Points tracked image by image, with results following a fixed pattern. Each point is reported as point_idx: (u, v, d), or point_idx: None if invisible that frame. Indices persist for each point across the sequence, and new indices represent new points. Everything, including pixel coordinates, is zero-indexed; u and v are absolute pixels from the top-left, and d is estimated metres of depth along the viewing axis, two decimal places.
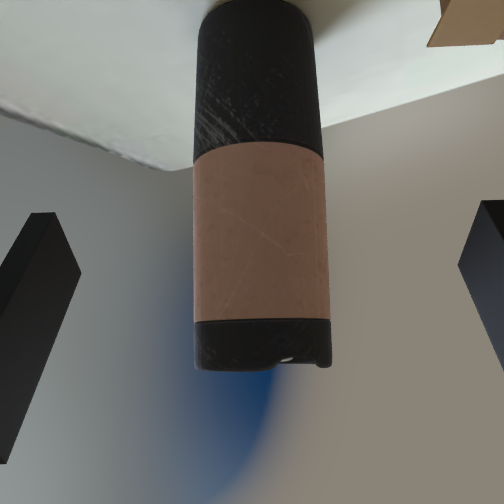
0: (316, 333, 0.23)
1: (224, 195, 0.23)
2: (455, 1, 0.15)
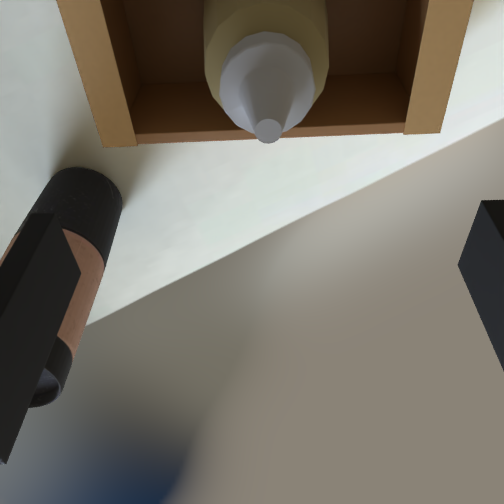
0: None
1: None
2: (95, 116, 0.30)
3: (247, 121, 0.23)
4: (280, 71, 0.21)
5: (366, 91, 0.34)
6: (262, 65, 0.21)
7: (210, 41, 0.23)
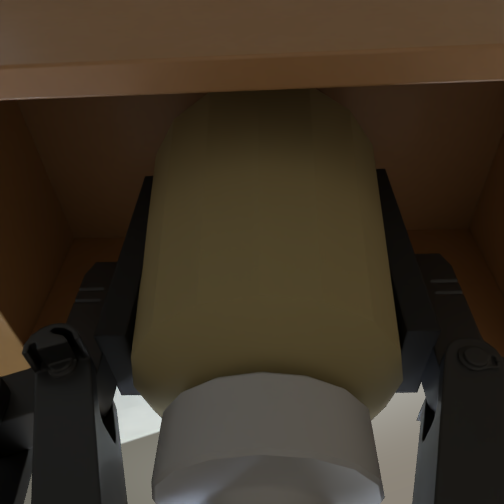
0: None
1: None
2: None
3: None
4: (301, 496, 0.08)
5: None
6: (254, 486, 0.08)
7: (139, 344, 0.10)
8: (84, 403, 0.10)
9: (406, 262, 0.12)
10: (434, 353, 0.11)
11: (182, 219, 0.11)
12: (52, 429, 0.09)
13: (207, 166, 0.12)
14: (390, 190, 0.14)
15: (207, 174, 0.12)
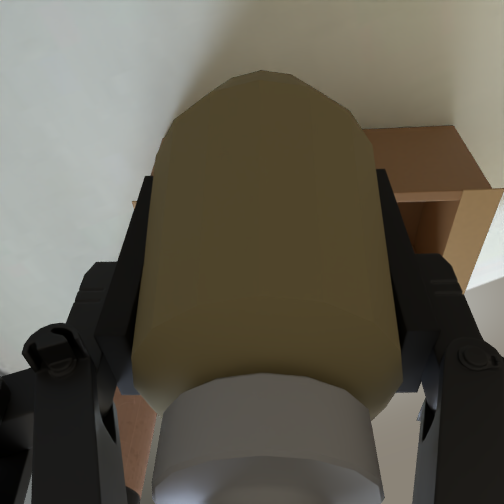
0: None
1: None
2: None
3: None
4: (301, 497, 0.08)
5: None
6: (255, 487, 0.08)
7: (139, 345, 0.10)
8: (84, 403, 0.10)
9: (406, 262, 0.12)
10: (434, 353, 0.11)
11: (182, 220, 0.11)
12: (52, 429, 0.09)
13: (207, 167, 0.12)
14: (390, 190, 0.14)
15: (207, 175, 0.12)
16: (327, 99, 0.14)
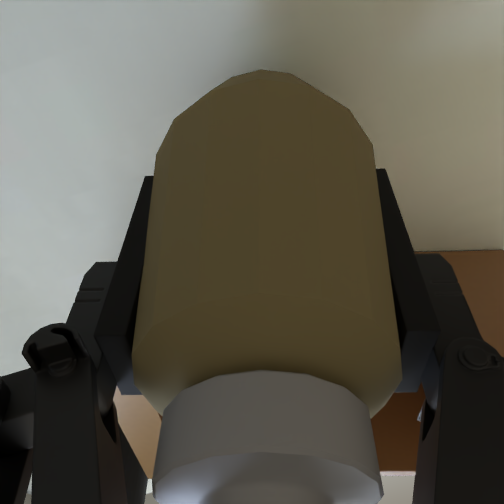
0: None
1: None
2: (142, 464, 0.29)
3: None
4: (301, 493, 0.08)
5: (416, 401, 0.33)
6: (255, 483, 0.08)
7: (139, 343, 0.10)
8: (84, 403, 0.10)
9: (406, 262, 0.12)
10: (434, 353, 0.11)
11: (182, 218, 0.11)
12: (52, 429, 0.09)
13: (207, 166, 0.12)
14: (390, 190, 0.14)
15: (207, 174, 0.12)
16: (327, 98, 0.14)
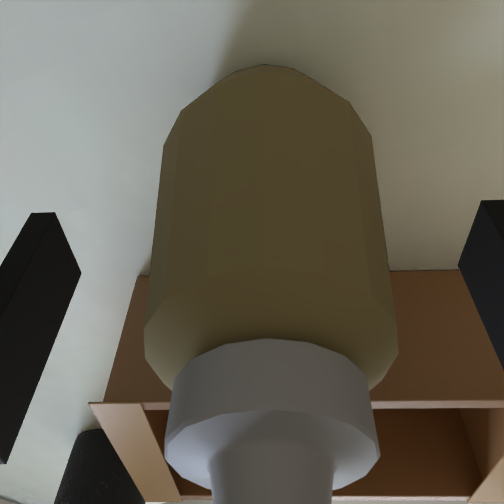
0: None
1: None
2: (140, 488, 0.28)
3: None
4: (303, 451, 0.09)
5: (423, 421, 0.32)
6: (260, 440, 0.09)
7: (151, 317, 0.11)
8: None
9: None
10: None
11: (191, 201, 0.12)
12: None
13: (214, 153, 0.13)
14: None
15: (214, 160, 0.12)
16: (327, 90, 0.15)
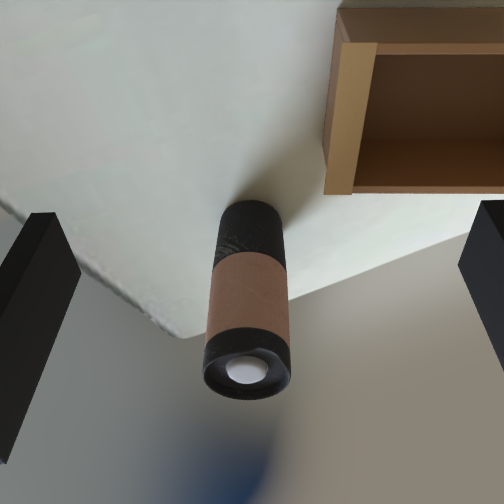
0: (279, 343, 0.38)
1: (230, 274, 0.42)
2: (328, 172, 0.38)
3: None
4: None
5: None
6: None
7: None
8: None
9: None
10: None
11: None
12: None
13: None
14: None
15: None
16: None
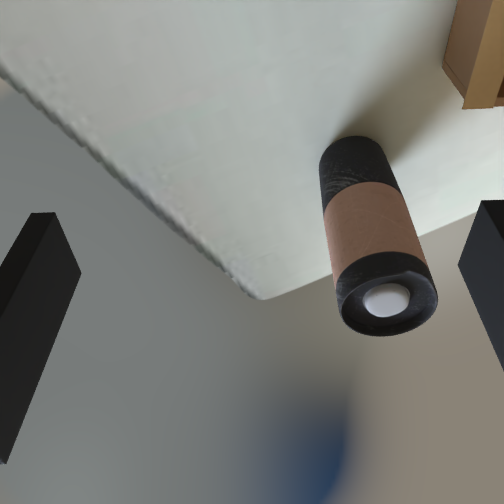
0: (425, 268, 0.35)
1: (355, 204, 0.39)
2: (472, 80, 0.35)
3: None
4: None
5: None
6: None
7: None
8: None
9: None
10: None
11: None
12: None
13: None
14: None
15: None
16: None
